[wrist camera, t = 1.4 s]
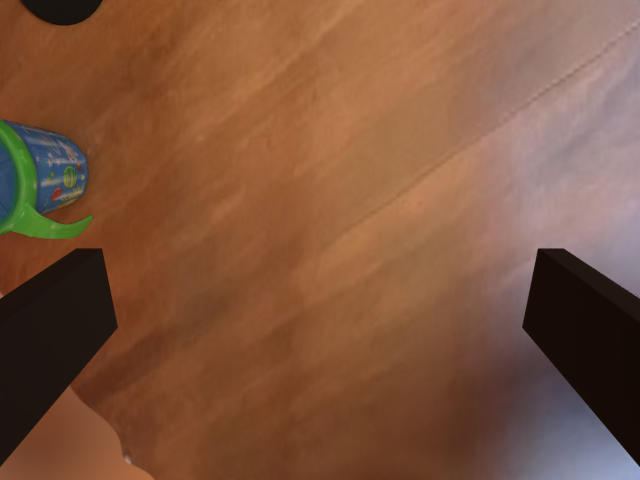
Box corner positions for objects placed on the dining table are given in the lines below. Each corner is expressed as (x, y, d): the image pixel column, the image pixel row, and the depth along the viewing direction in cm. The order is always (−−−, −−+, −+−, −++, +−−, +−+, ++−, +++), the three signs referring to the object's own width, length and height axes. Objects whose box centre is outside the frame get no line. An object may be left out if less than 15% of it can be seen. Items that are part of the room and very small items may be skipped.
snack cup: (142, 194, 42) (69, 208, 32) (80, 256, 45) (-5, 286, 35) (37, 74, 41) (-72, 51, 31) (-20, 145, 44) (-136, 144, 34)
